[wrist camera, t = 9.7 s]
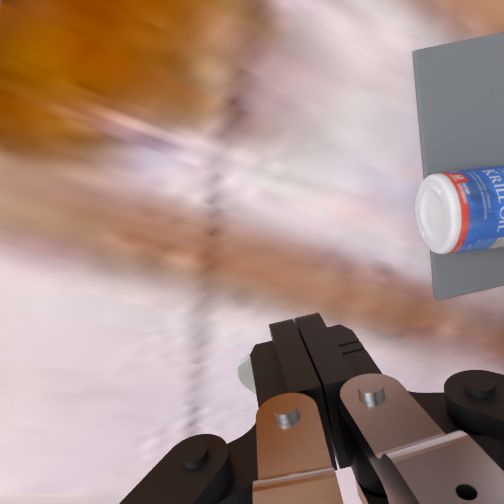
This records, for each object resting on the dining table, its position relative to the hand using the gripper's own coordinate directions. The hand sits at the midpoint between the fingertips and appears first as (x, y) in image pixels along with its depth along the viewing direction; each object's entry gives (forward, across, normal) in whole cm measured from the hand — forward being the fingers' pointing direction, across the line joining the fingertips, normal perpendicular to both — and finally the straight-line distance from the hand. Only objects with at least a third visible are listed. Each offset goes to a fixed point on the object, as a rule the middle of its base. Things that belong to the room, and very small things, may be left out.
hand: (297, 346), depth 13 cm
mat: (+20, -19, +1) cm, 27 cm away
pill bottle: (+16, -12, +2) cm, 20 cm away
